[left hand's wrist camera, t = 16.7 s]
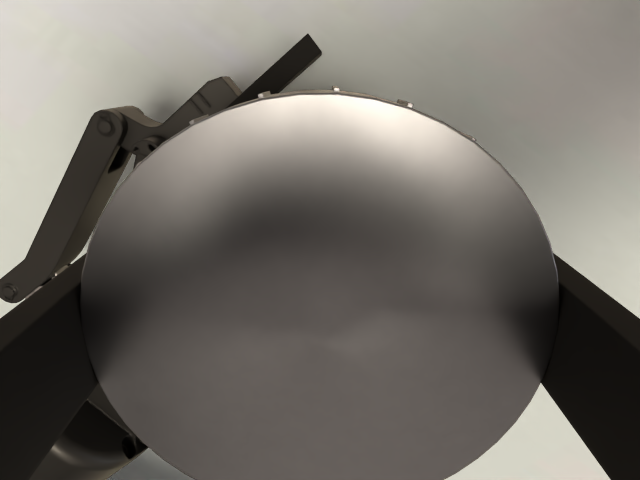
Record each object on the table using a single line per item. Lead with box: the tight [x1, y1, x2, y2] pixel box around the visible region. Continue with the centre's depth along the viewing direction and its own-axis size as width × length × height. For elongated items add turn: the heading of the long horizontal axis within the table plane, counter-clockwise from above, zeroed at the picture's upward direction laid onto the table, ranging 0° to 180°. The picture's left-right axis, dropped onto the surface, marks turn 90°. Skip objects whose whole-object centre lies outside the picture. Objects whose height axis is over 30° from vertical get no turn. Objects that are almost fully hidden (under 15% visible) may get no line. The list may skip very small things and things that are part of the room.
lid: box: [80, 86, 560, 480], centre depth 11 cm, size 11×11×2 cm
